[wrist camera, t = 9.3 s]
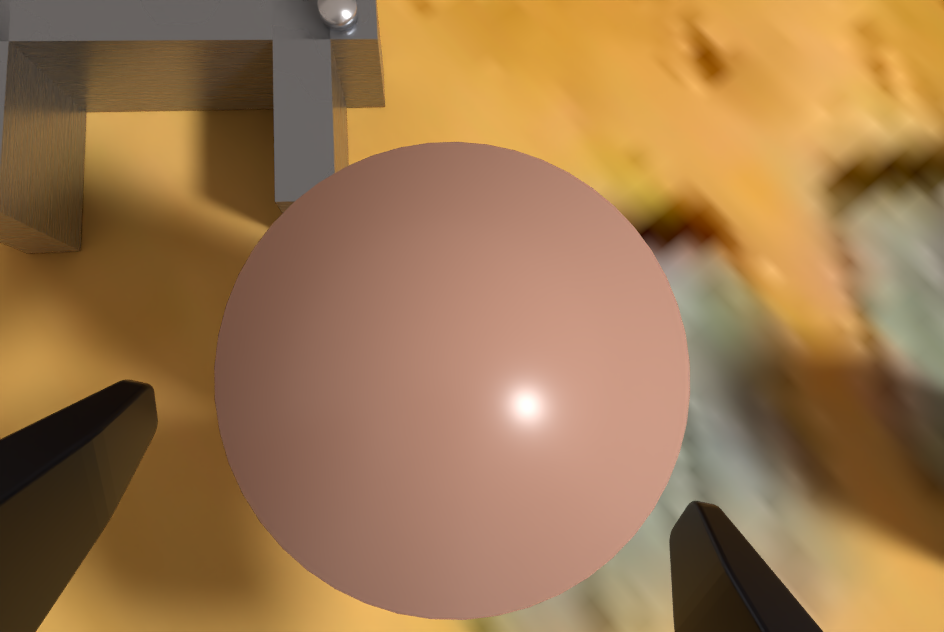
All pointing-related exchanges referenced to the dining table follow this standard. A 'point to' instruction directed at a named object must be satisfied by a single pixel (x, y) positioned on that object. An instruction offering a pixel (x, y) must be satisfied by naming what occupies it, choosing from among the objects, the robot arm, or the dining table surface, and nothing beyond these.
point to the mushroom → (452, 380)
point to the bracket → (172, 89)
